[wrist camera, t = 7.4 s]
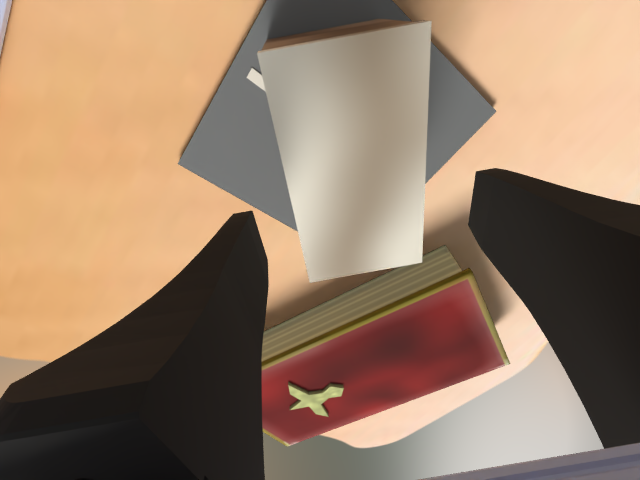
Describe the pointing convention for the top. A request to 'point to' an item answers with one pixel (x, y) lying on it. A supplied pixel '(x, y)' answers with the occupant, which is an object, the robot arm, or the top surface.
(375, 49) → the card box
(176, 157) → the top surface
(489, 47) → the top surface
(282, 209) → the mat
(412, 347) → the hardcover book
